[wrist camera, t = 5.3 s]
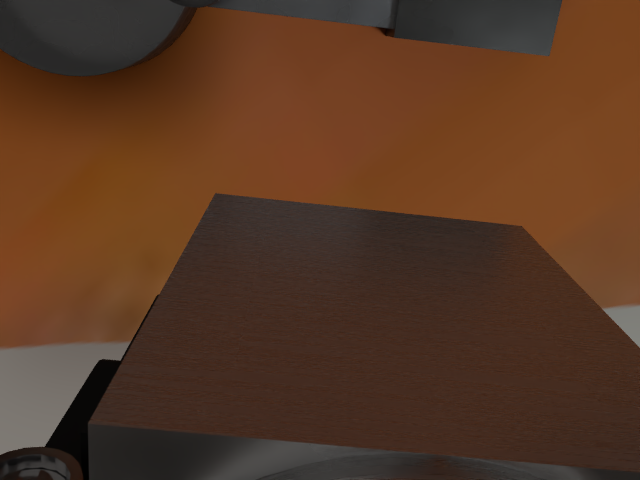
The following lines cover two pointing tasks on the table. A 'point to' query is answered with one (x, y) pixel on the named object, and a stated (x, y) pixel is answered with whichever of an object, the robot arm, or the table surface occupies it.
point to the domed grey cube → (368, 357)
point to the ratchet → (313, 3)
